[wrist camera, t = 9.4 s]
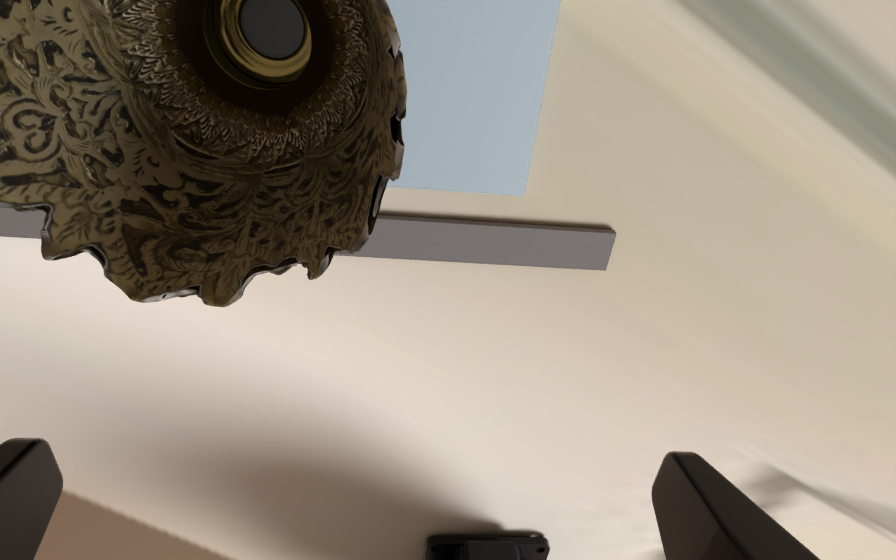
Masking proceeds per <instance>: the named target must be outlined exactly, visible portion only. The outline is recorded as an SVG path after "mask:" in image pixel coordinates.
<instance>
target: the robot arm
mask: <svg viewBox="0 0 896 560" xmlns="http://www.w3.org/2000/svg"><path fill="white" fill-rule="evenodd" d="M62 488H63V477H62V474H61V471H60V469H59V467H58V464H57V462H56V459H55V457H54V455H53V452H52V450H51V447H50V445H49V443H48V442H47V441H45V440H44V439H41V438H13V439H10V440H7V441H5V442H3V443H2V444H0V560H34V558H35V556H36V554H37V551H38V549H39V546H40V544H41V541H42V539H43V536H44V534H45V531H46V529H47V527H48V524H49V522H50V520H51V517H52V515H53V512H54V510H55V507H56V505H57V503H58V500H59V498H60V495H61V492H62ZM652 502H653V506H654V511H655V515H656V519H657V523H658V527H659V531H660V536H661V540H662V544H663V548H664V552H665V556H666V560H820V559H819V558H818V557H817V556H815V555H814V554H813V553H812V552H811V551H810V550H809V549H807V548H806V547H805V546H804V545H803V544H802V543H800V542H799V541H798V540H797V539H796V538H795V537H793V536H792V535H791V534H790V533H789V532H788V531H787V530H785V529H784V528H783V527H782V526H781V525H780V524H778V523H777V522H776V521H775V520H774V519H773V518H771V517H770V516H769V515H768V514H767V513H766V512H765V511H763V510H762V509H761V508H760V507H759V506H758V505H756V504H755V503H754V502H753V501H752V500H751V499H749V498H748V497H747V496H746V495H745V494H744V493H743V492H741V491H740V490H739V489H738V488H737V487H736V486H734V485H733V484H732V483H731V482H730V481H729V480H727V479H726V478H725V477H724V476H723V475H722V474H721V473H719V472H718V471H717V470H716V469H715V468H714V467H712V466H711V465H710V464H709V463H708V462H707V461H705V460H704V459H703V458H702V457H701V456H699V455H698V454H696V453H694V452H677V451H672V452H669V453H668V454H666V455H665V457H664V459H663V462H662V464H661V466H660V469H659V471H658V474H657V476H656V478H655V481H654V483H653V486H652ZM549 551H550V547H549V543H548V540H547V539H546V538H543V537H462V536H434V537H430V538H428V539H427V540H426V543H425V551H424V559H423V560H546V559H547V556H548V553H549Z"/></svg>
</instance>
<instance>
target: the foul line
mask: <svg viewBox="0 0 896 560" xmlns="http://www.w3.org/2000/svg"><path fill="white" fill-rule="evenodd" d="M37 211H38V212H31V213H19V212H18V211H16V210H15V209H14V208H2V207H0V236H3V237H21V238H39V239H41V235H40V231H41V230H42V227H43V225H44V218H45V216H46V213H45V212H44V211H42V210H37ZM615 237H616V232H615V231H614V230H609V229H593V228H578V227H562V226H546V225H531V224H515V223H499V222H484V221H468V220H452V219H437V218H421V217H405V216H390V215H378V217H377V220H376V223H375V226H374V229H373V231H372V233H371V236H370V237H369V239H368V241H367V242H366V243H365V245H364V246H363V247H362V248H361V250H360V251H358V252H357V253H355V254H353V255H351V254H349V253H348V254H347V253H346V254H342V253H334V255H339V256H357V257H375V258H392V259H410V260H428V261H445V262H463V263H481V264H498V265H516V266H534V267H551V268H569V269H587V270H605V271H606V268H607V264H608V261H609V257H610V254H611V251H612V247H613V244H614V240H615Z"/></svg>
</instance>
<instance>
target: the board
mask: <svg viewBox="0 0 896 560" xmlns="http://www.w3.org/2000/svg"><path fill="white" fill-rule="evenodd" d="M560 1H561V0H386V2H387V4H388V6H389V9H390V11H391V14H392V16H393V19H394V22H395V24H396V27H397V30H398V34H399V37H400V41H401V46H400V48H399V50H400V51H401V52H402V53H403V63H404V72H405V78H406V86H407V100H406V117H405V118H404V119H402V120H401V128H402V140H403V142H404V145H405V148H404V154H403V161H402V167H401V172H400V176H399V179H396V180H395V181H392V180H391V179H389V181H388V183H387V186H386V187H397V188H412V189H426V190H441V191H455V192H470V193H485V194H499V195H514V196H525V190H526V185H527V179H528V174H529V169H530V163H531V158H532V152H533V147H534V141H535V136H536V131H537V125H538V120H539V114H540V109H541V103H542V98H543V93H544V87H545V82H546V76H547V71H548V66H549V60H550V55H551V49H552V44H553V38H554V33H555V28H556V22H557V17H558V11H559V6H560ZM241 26H242V30H243V33H244V35H245V37H246V39H247V40H248V42H249V43H250V44H251V45H252V47H254V48H255V49H256V50H257V51H258V52H260V53H262V54H264V55H266V56H269V57H274V58H280V57H285V56H288V55H290V54H292V53H293V52H294V51H295V50H296V49H297V48H298V47H299V45H300V43H301V41H302V38H303V21H302V18H301V15H300V13H299V11H298V9H297V8H296V6H295V5H294V4H293V3H292V2H291V1H290V0H247V1H246V2H245V4H244V6H243V9H242V12H241Z"/></svg>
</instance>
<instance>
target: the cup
mask: <svg viewBox="0 0 896 560" xmlns="http://www.w3.org/2000/svg"><path fill="white" fill-rule="evenodd" d="M246 1H247V0H0V207H2V208H14V209H15V210H16V211H18V212H19V213H31V212H38V211H37V210H42V211H44V212H45V213H46V216H45V218H44V225H43V227H42V230H41V231H40V235H41V240H42V245H41V252H42V256H43V258H44V259H45V260H58V259H63V258H67V257H71V256H75V255H77V254H80V253H83V252H89V253H90V254H91V255H92V256H93V257H95V258H96V259H97V260H98V261H99V262H100V264H101V265H102V268H103V269H104V275H105V277H106V278H107V279H109V280H110V281H111V282H112V283H114V284H115V285H116V286H118V287H119V288H120V289H121V290H122V291H123V292H124V293H125V294H126V295H127V296H128V297H129V298H130V299H131V300H134V301H137V302H142V303H146V302H156V301H161V300H165V299H169V298H173V297H186V296H190V295H198V297H200V298H201V299H202V301H203V302H204V304H206V305H210V306H217V307H226V306H229V305H230V304H232V303H234V302H236V301H237V300H238V299H240V298H241V296H242V295H243V292H244V289H245V287H246V286H247V285H248V283H249V282H250V281H251V280H252V279H253V277H254V276H256V275H258V274H263V273H266V272H270V273H273V274H276V275H281V274H283V273H284V272H286V271H287V270H289V269H290V268H291V267H292V266H296V265H297V264H302V266H303V267H304V268H306V267H307V269H308V273H307V276H308V278H309V280H313V279H316V278H318V277H319V276H321V275H322V274H323V273H324V272H325V270H326V269H327V268H328V266H329V264H330V263H331V260H332V258H333V255H334V253H342V254H346V253H347V254H348V253H349V254H351V255H353V254H355V253H357V252H358V251H360V250H361V248H362V247H363V246H364V245H365V243H366V242H367V241H368V239H369V237H370V236H371V233H372V231H373V229H374V226H375V223H376V220H377V217H378V213H379V209H380V205H381V200H382V197H383V194H384V191H385V188H386V186H387V183H388V181H389V179H391V180H392V181H395V180H396V179H399V176H400V172H401V167H402V161H403V154H404V148H405V145H404V142H403V140H402V128H401V120H402V119H404V118H405V117H406V100H407V86H406V78H405V72H404V63H403V53H402V52H401V51H400V50H399V48H400V46H401V41H400V37H399V34H398V30H397V27H396V24H395V22H394V19H393V16H392V14H391V11H390V9H389V6H388V4H387V2H386V0H290V1H291V2H292V3H293V4H294V5H295V6H296V8H297V9H298V11H299V13H300V15H301V18H302V21H303V38H302V41H301V43H300V45H299V47H298V48H297V49H296V50H295V51H294V52H293V53H292V54H290V55H288V56H285V57H280V58H274V57H269V56H266V55H264V54H262V53H260V52H258V51H257V50H256V49H255V48H254V47H252V45H251V44H250V43H249V42H248V40H247V39H246V37H245V35H244V33H243V30H242V26H241V12H242V9H243V6H244V4H245V2H246Z"/></svg>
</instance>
